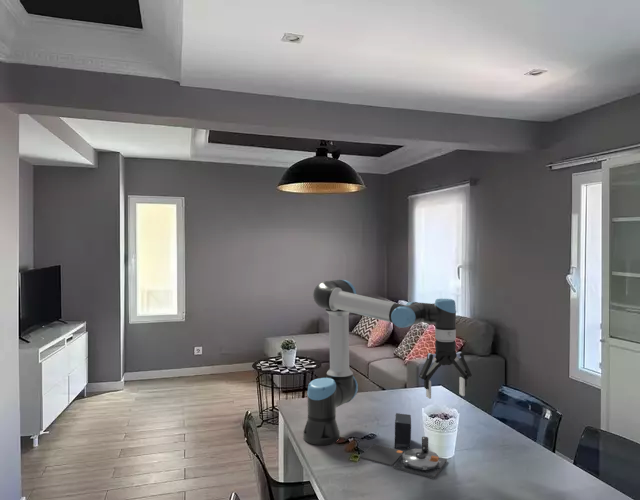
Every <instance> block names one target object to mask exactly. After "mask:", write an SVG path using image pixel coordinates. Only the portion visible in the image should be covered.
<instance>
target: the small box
mask: <svg viewBox="0 0 640 500" xmlns="http://www.w3.org/2000/svg"><path fill="white" fill-rule="evenodd" d="M394 419H395V420H394V446H393V449H398V450H409V449H411V443H412V442H411V441H412V415H411V414H404V413H397V412H396V413H395V418H394Z"/></svg>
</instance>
